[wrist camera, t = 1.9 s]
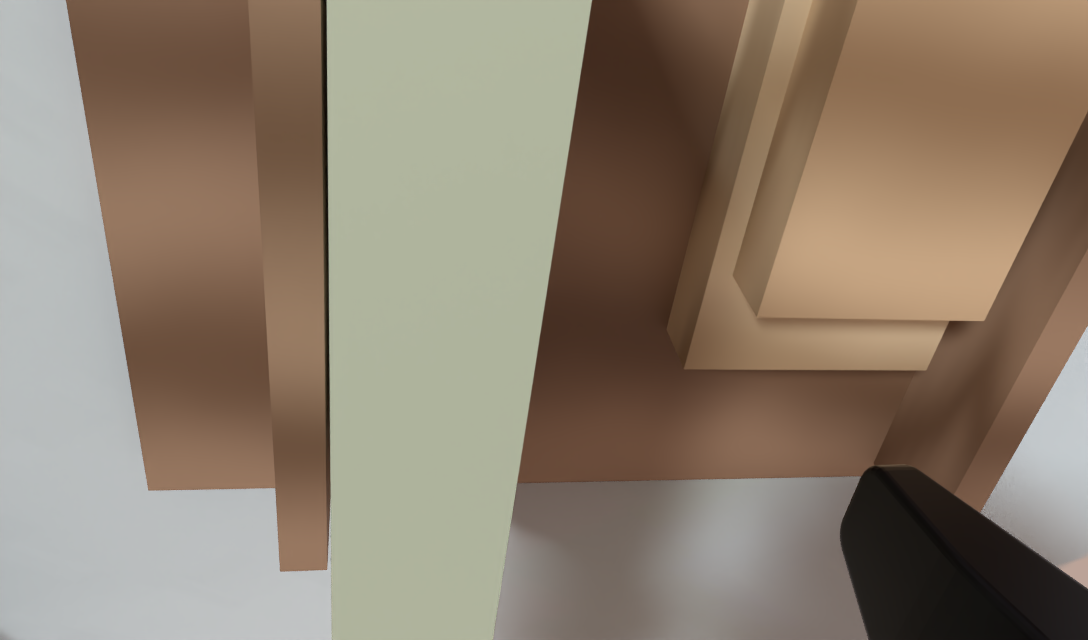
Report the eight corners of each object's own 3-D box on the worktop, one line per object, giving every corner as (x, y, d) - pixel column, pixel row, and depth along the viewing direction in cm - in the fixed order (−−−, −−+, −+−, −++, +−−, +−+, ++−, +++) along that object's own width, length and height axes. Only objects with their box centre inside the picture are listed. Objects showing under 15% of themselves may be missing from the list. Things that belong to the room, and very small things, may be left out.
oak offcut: (947, 281, 20) (983, 320, 19) (732, 275, 19) (756, 317, 18) (1126, -116, 15) (1189, -97, 14) (855, -151, 14) (899, -132, 13)
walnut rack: (914, 450, 27) (987, 557, 24) (156, 461, 23) (121, 592, 20) (1372, -487, 15) (1643, -524, 12) (-46, -821, 11) (-218, -1017, 8)
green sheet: (419, 378, 21) (453, 888, 12) (349, 378, 21) (334, 901, 12) (467, -369, 13) (655, -408, 5) (354, -388, 13) (324, -470, 4)
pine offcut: (896, 332, 23) (926, 370, 22) (666, 329, 22) (683, 369, 20) (1108, -160, 16) (1166, -145, 15) (800, -203, 15) (837, -190, 14)
